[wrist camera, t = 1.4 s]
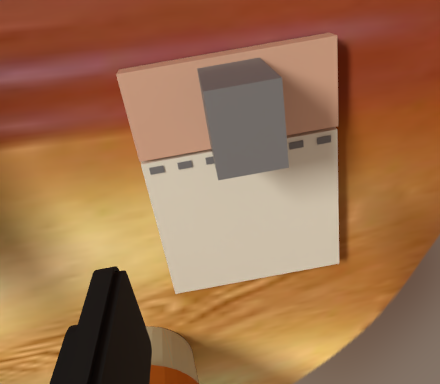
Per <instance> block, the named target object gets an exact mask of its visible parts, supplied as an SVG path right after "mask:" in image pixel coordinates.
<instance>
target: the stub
mask: <svg viewBox="0 0 440 384" xmlns="http://www.w3.org/2000/svg"><path fill="white" fill-rule="evenodd" d="M116 76H117V79H118V83H119V87H120V90H121V94H122V98H123V102H124V105H125V109H126V113H127V116H128V120H129V124H130V128H131V131H132V135H133V139H134V143H135V146H136V150H137V154H138V157H139V161H140V162H142V161H147V160H153V159H158V158H164V157H170V156H175V155H181V154H186V153H192V152H197V151H203V150H208V149H211V150H212V154H213V159H214V163H215V168H216V172H217V177H218V180H224V179H229V178H235V177H240V176H246V175H251V174H257V173H262V172H268V171H273V170H279V169H284V168H289V161H288V148H287V135H292V134H297V133H303V132H309V131H314V130H320V129H325V128H331V127H336V126H338V53H337V35H334V34H332V33H325V34H319V35H313V36H308V37H302V38H296V39H290V40H285V41H279V42H273V43H268V44H262V45H256V46H251V47H245V48H239V49H233V50H228V51H222V52H216V53H211V54H205V55H199V56H194V57H188V58H182V59H177V60H171V61H165V62H159V63H154V64H148V65H142V66H137V67H131V68H125V69H120V70H119V71H118V72H117V74H116Z"/></svg>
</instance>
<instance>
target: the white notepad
mask: <svg viewBox="0 0 440 384" xmlns="http://www.w3.org/2000/svg"><path fill="white" fill-rule="evenodd" d="M287 148H288V161H289V168H284V169H279V170H273V171H268V172H262V173H257V174H251V175H246V176H240V177H235V178H229V179H224V180H218V177H217V172H216V168H215V163H214V159H213V154H212V150H211V149H208V150H203V151H197V152H192V153H186V154H181V155H175V156H170V157H164V158H158V159H153V160H147V161H142V162H141V167H142V170H143V174H144V178H145V182H146V185H147V189H148V193H149V197H150V200H151V204H152V208H153V211H154V215H155V219H156V223H157V226H158V230H159V234H160V238H161V241H162V245H163V249H164V253H165V256H166V260H167V264H168V267H169V271H170V275H171V279H172V282H173V286H174V290H175V294H177V293H183V292H188V291H194V290H199V289H204V288H210V287H215V286H220V285H226V284H231V283H237V282H242V281H247V280H253V279H258V278H263V277H269V276H274V275H280V274H285V273H290V272H296V271H301V270H306V269H312V268H317V267H323V266H328V265H333V264H339V208H338V134H337V128H335V127H331V128H325V129H320V130H314V131H309V132H303V133H297V134H292V135H287Z"/></svg>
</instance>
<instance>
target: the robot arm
mask: <svg viewBox="0 0 440 384" xmlns="http://www.w3.org/2000/svg"><path fill="white" fill-rule="evenodd" d="M151 358H152V347H151V341H150V338H149V335H148V332H147V329H146V326H145V323H144V321H143V318H142V315H141V312H140V309H139V306H138V304H137V301H136V298H135V295H134V292H133V289H132V287H131V284H130V281H129V278H128V275H127V273H126V271H119V269H118V268H117V267H110V268H105V269H99V270H95V271H94V273H93V275H92V279H91V282H90V285H89V289H88V292H87V296H86V299H85V302H84V306H83V309H82V313H81V316H80V319H79V323H78V325H73V326H70V327H69V328H68V330H67V332H66V334H65V338H64V341H63V344H62V347H61V350H60V353H59V356H58V359H57V362H56V365H55V369H54V372H53V375H52V378H51V381H50V384H149V383H150V371H151Z"/></svg>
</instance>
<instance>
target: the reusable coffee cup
mask: <svg viewBox="0 0 440 384" xmlns="http://www.w3.org/2000/svg"><path fill="white" fill-rule="evenodd" d="M146 329H147V332H148V335H149V338H150V341H151V347H152V358H151V371H150V383H149V384H199V382H198V377H197V372H196V367H195V362H194V357H193V352H192V349H191V347H190V345H189V344H188V342H187V341H186V340H185V339H184V338H183V337H181V336H180V335H179V334H177V333H175V332H173V331H171V330H167V329H164V328H159V327H146Z"/></svg>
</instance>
